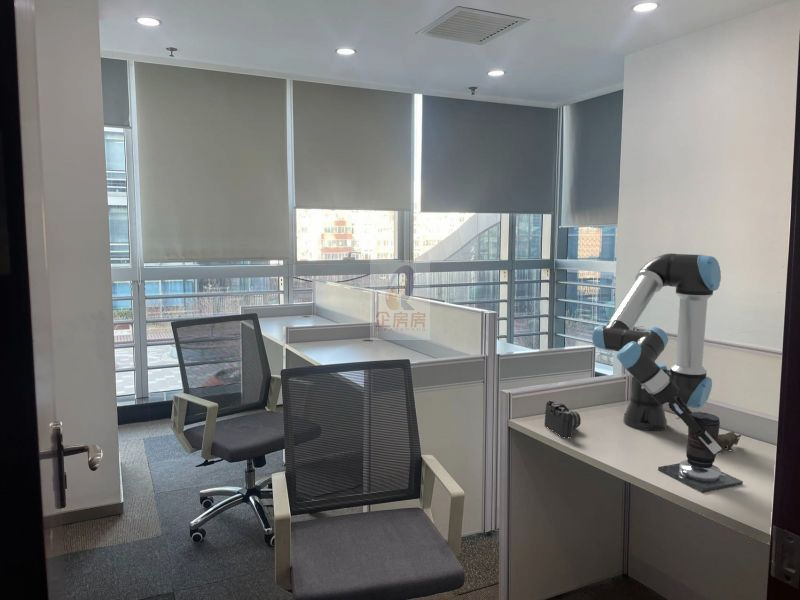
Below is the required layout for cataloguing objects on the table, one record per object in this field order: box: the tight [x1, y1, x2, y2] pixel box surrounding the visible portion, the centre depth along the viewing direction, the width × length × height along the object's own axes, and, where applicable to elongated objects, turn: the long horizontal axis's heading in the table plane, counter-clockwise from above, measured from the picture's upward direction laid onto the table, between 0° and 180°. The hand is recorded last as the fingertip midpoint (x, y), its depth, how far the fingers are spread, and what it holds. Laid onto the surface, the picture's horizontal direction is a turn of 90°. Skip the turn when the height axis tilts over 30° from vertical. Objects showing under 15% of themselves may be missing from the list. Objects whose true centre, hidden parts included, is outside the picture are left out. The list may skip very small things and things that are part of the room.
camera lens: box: [685, 411, 721, 468], centre depth 173 cm, size 8×8×15 cm
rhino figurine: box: [716, 431, 742, 454], centre depth 197 cm, size 4×14×6 cm, turn 119°
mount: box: [657, 459, 744, 494], centre depth 175 cm, size 16×16×3 cm
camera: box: [544, 399, 582, 439], centre depth 211 cm, size 14×11×10 cm
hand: (714, 445), depth 172 cm, fingers closed on camera lens, 8 cm apart
